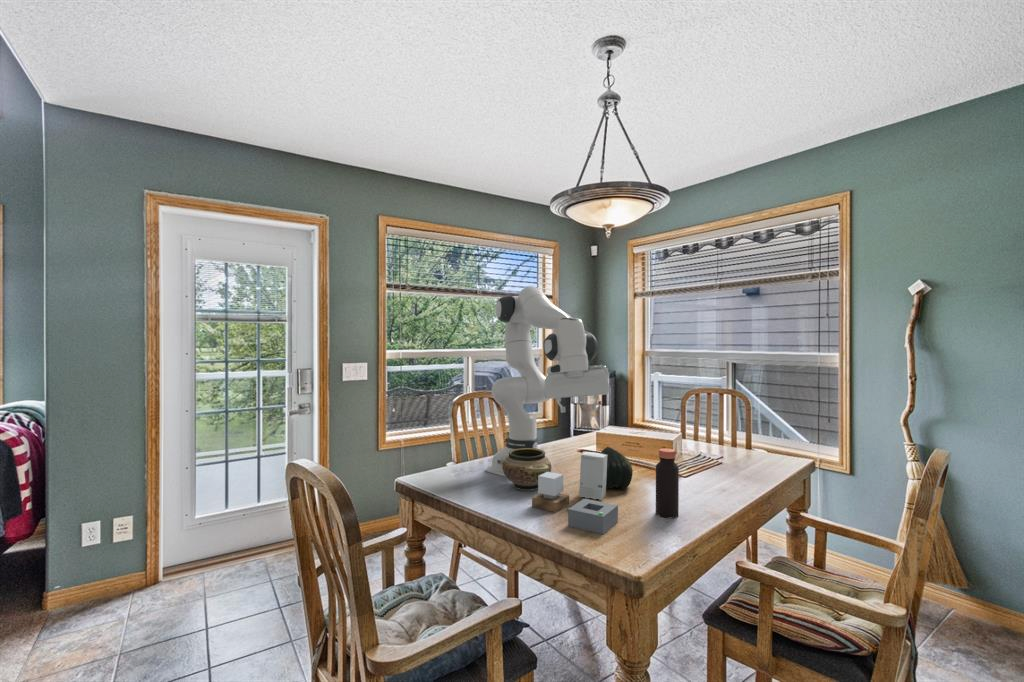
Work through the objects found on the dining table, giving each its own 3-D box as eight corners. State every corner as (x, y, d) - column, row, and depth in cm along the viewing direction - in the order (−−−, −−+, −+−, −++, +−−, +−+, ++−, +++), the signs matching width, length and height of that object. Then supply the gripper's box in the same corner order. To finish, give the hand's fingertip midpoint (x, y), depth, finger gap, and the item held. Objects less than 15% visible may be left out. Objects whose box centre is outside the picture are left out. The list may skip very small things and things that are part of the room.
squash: (629, 481, 169) (630, 443, 178) (586, 479, 174) (589, 441, 183) (633, 499, 179) (634, 461, 188) (592, 496, 184) (595, 460, 193)
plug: (538, 506, 160) (538, 476, 159) (547, 501, 165) (547, 471, 164) (554, 510, 156) (554, 478, 156) (563, 504, 161) (563, 474, 161)
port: (568, 526, 143) (568, 507, 143) (583, 514, 152) (584, 497, 152) (603, 534, 137) (603, 515, 137) (617, 521, 146) (617, 503, 146)
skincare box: (579, 497, 169) (579, 454, 168) (583, 492, 174) (584, 450, 174) (603, 501, 165) (603, 456, 165) (607, 495, 171) (607, 453, 170)
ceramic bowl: (498, 486, 189) (488, 450, 188) (537, 470, 196) (529, 435, 194) (524, 507, 167) (514, 466, 165) (568, 488, 174) (559, 448, 172)
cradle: (531, 507, 159) (531, 497, 159) (545, 499, 167) (545, 490, 167) (556, 512, 154) (556, 502, 154) (569, 504, 162) (569, 495, 162)
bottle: (660, 508, 158) (661, 446, 157) (681, 513, 153) (682, 449, 153) (652, 514, 152) (652, 450, 152) (673, 519, 148) (673, 453, 148)
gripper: (607, 365, 157) (611, 409, 154) (543, 370, 159) (546, 413, 157) (608, 363, 150) (613, 408, 148) (541, 368, 153) (545, 413, 151)
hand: (578, 411), depth 152 cm, fingers open, 8 cm apart
